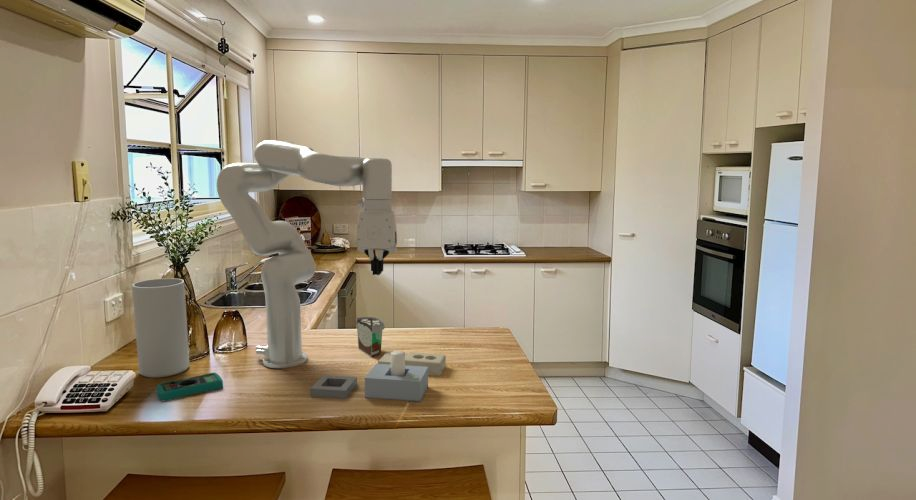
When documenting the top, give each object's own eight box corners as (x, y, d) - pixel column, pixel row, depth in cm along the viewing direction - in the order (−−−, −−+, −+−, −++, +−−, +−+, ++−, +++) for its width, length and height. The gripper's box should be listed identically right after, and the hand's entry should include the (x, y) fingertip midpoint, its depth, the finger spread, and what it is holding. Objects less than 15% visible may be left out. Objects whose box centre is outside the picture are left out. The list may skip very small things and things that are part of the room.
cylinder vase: (166, 380, 147) (159, 289, 143) (128, 375, 150) (120, 285, 147) (199, 365, 159) (194, 279, 155) (163, 360, 162) (157, 277, 159)
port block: (364, 399, 137) (364, 376, 136) (376, 383, 147) (376, 362, 146) (420, 402, 135) (420, 379, 134) (428, 386, 145) (428, 365, 144)
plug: (389, 393, 139) (389, 354, 138) (392, 387, 143) (392, 350, 141) (403, 394, 139) (403, 355, 137) (406, 388, 142) (406, 351, 141)
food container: (391, 355, 169) (391, 323, 167) (373, 358, 165) (373, 326, 164) (374, 344, 179) (373, 314, 177) (356, 347, 176) (355, 317, 174)
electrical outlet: (386, 349, 162) (445, 354, 159) (386, 363, 163) (445, 367, 160) (378, 358, 155) (440, 363, 152) (378, 371, 156) (440, 377, 153)
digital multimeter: (155, 393, 140) (154, 382, 140) (217, 380, 149) (216, 370, 148) (159, 404, 134) (158, 392, 134) (224, 389, 143) (223, 379, 142)
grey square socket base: (310, 397, 137) (310, 388, 137) (324, 384, 146) (323, 375, 146) (345, 400, 136) (345, 390, 136) (356, 386, 145) (356, 377, 144)
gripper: (345, 205, 143) (345, 275, 146) (401, 207, 141) (400, 278, 143) (354, 203, 150) (354, 270, 153) (408, 205, 148) (407, 272, 151)
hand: (377, 273), depth 148 cm, fingers closed
